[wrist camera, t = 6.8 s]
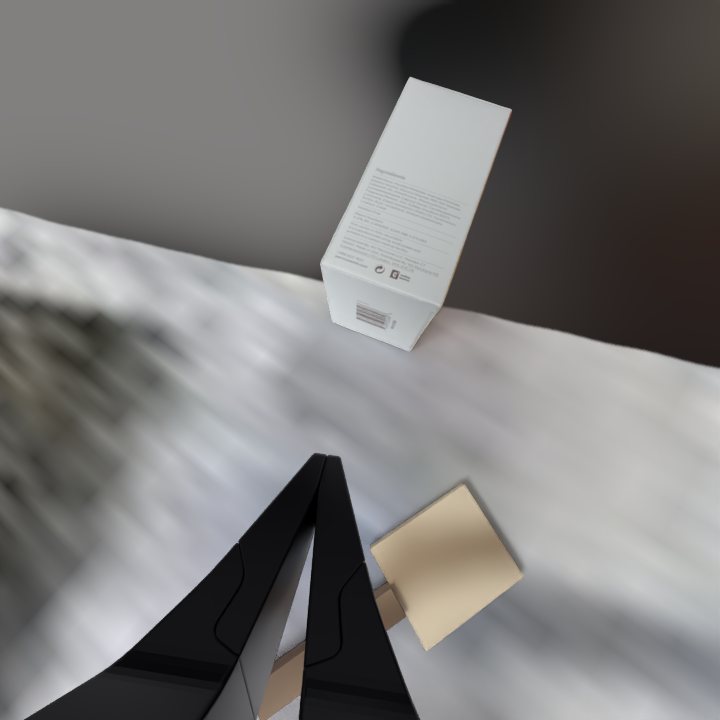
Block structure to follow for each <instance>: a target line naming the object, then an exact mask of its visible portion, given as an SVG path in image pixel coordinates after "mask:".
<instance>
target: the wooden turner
mask: <svg viewBox="0 0 720 720" xmlns="http://www.w3.org/2000/svg"><path fill="white" fill-rule="evenodd" d="M370 550H371V551H372V553H373V555H374V557H375V559H376V561H377V562H378V564H379V566H380V568H381V570H382V572H383V573H384V575H385V577H386V579H387V582H386V583H385V584H383V585H382V586H380V587H379V588H378V589H376V590H375V591H373V592H374V596H375V599H376V602H377V605H378V608H379V611H380V614H381V617H382V620H383V623H384V626H385V629H386V631H387V630H388V629H390V628H391V627H392V626H394V625H395V624H397V623H398V622H399V621H401V620H402V619H403V618H405V617H406V615H407V617H408V619H409V621H410V623H411V624H412V626H413V628H414V630H415V632H416V634H417V635H418V637H419V639H420V641H421V643H422V645H423V646H424V648H425V650H426V652H427V651H428V650H429V649H430V648H432V647H433V646H434V645H436V644H437V643H438V642H440V641H441V640H442V639H443V638H445V637H446V636H447V635H449V634H450V633H451V632H453V631H454V630H455V629H457V628H458V627H459V626H460V625H462V624H463V623H464V622H466V621H467V620H468V619H470V618H471V617H472V616H473V615H475V614H476V613H477V612H479V611H480V610H481V609H483V608H484V607H485V606H486V605H488V604H489V603H490V602H492V601H493V600H494V599H496V598H497V597H498V596H499V595H501V594H502V593H503V592H505V591H506V590H507V589H509V588H510V587H511V586H512V585H514V584H515V583H516V582H518V581H519V580H520V579H522V578H523V577H524V576H523V575H522V573H521V572H520V570H519V568H518V567H517V565H516V564H515V562H514V561H513V559H512V558H511V556H510V554H509V553H508V551H507V550H506V548H505V547H504V545H503V544H502V542H501V540H500V539H499V537H498V536H497V534H496V533H495V531H494V529H493V528H492V526H491V525H490V523H489V522H488V520H487V519H486V517H485V515H484V514H483V512H482V511H481V509H480V508H479V506H478V504H477V503H476V501H475V500H474V498H473V497H472V495H471V494H470V492H469V490H468V489H467V487H466V486H465V484H463V483H461V484H460V485H458V486H457V487H455V488H454V489H452V490H451V491H449V492H448V493H447V494H445V495H444V496H442V497H441V498H439V499H438V500H436V501H435V502H433V503H432V504H430V505H429V506H427V507H426V508H424V509H423V510H422V511H420V512H419V513H417V514H416V515H414V516H413V517H411V518H410V519H408V520H407V521H405V522H404V523H402V524H401V525H399V526H398V527H397V528H395V529H394V530H392V531H391V532H389V533H388V534H386V535H385V536H383V537H382V538H380V539H379V540H377V541H376V542H374V543H373V544H372V545H370ZM305 641H306V640H305ZM305 641H303V642H302V643H300V644H299V645H298V646H296V647H295V648H293V649H292V650H291V651H289V652H288V653H286V654H285V655H284V656H282V657H281V658H279V659H278V660H277V661H275V662H274V664H273V667H272V670H271V674H270V677H269V680H268V683H267V686H266V690H265V693H264V696H263V699H262V702H261V706H260V709H259V712H258V717H259V719H260V720H267V719H268V718H269V717H271V716H272V715H274V714H275V713H276V712H278V711H279V710H280V709H282V708H283V707H284V706H286V705H287V704H288V703H290V702H291V701H292V700H294V699H295V698H296V697H298V696H299V695H301V688H302V676H303V665H304V653H305Z"/></svg>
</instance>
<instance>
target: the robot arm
mask: <svg viewBox="0 0 720 720" xmlns="http://www.w3.org/2000/svg"><path fill="white" fill-rule="evenodd" d="M314 531H315V534H314ZM313 535H314V546H313V558H312V570H311V581H310V593H309V605H308V617H307V629H306V641H305V653H304V665H303V676H302V688H301V699H300V710H299V720H420V718H419V715H418V713H417V711H416V709H415V706H414V704H413V702H412V699H411V697H410V694H409V692H408V689H407V686H406V684H405V681H404V678H403V676H402V673H401V670H400V667H399V665H398V662H397V659H396V656H395V654H394V651H393V648H392V645H391V643H390V640H389V637H388V634H387V632H386V629H385V626H384V623H383V620H382V617H381V614H380V611H379V608H378V605H377V602H376V599H375V596H374V592H373V588H372V585H371V581H370V577H369V573H368V569H367V565H366V563H365V557H364V553H363V549H362V545H361V540H360V536H359V532H358V528H357V524H356V519H355V515H354V511H353V507H352V503H351V499H350V494H349V490H348V486H347V482H346V478H345V474H344V469H343V465H342V461H341V458H340V457H339V456H334V455H328V456H327V455H326V454H320V453H314V454H313V455H312V456H311V457H310V458H309V460H308V461H307V462H306V463H305V464H304V465H303V466H302V468H301V469H300V470H299V471H298V472H297V473H296V475H295V476H294V477H293V478H292V479H291V480H290V482H289V483H288V484H287V485H286V486H285V487H284V488H283V490H282V491H281V492H280V493H279V494H278V495H277V497H276V498H275V499H274V500H273V501H272V502H271V504H270V505H269V506H268V507H267V508H266V509H265V510H264V512H263V513H262V514H261V515H260V516H259V517H258V519H257V520H256V521H255V522H254V523H253V524H252V526H251V527H250V528H249V529H248V530H247V531H246V532H245V534H244V535H243V536H242V537H241V538H240V539H239V541H238V542H239V543H236V544H235V545H234V546H233V547H232V548H231V550H230V551H229V552H228V553H227V554H226V555H225V557H224V558H223V559H222V560H221V561H220V562H219V563H218V564H217V565H216V566H215V568H214V569H213V570H212V571H211V572H210V573H209V574H208V575H207V576H206V577H205V578H204V579H203V580H202V581H201V582H200V583H199V584H198V585H197V586H196V587H195V588H194V589H193V590H192V591H191V592H190V593H189V594H188V595H187V596H186V597H185V598H184V599H183V600H182V601H181V602H180V603H179V604H178V605H177V606H175V607H174V608H173V609H172V610H171V611H170V612H169V613H168V614H167V615H166V616H165V617H164V618H163V619H162V620H161V621H160V622H159V623H158V624H157V625H156V626H155V627H154V628H153V629H152V630H150V631H149V632H148V633H147V634H146V635H145V636H144V637H143V638H142V639H141V640H140V641H139V642H138V643H137V644H136V645H135V646H134V647H133V648H131V649H130V650H129V651H128V652H127V653H126V654H125V655H123V656H122V657H121V658H120V659H118V660H117V661H116V662H115V663H113V664H112V665H111V666H109V667H108V668H106V669H105V670H104V671H102V672H101V673H99V674H98V675H96V676H95V677H93V678H91V679H90V680H88V681H86V682H85V683H83V684H82V685H80V686H78V687H77V688H75V689H73V690H72V691H70V692H68V693H67V694H65V695H64V696H62V697H60V698H59V699H57V700H55V701H54V702H52V703H50V704H49V705H47V706H46V707H44V708H42V709H41V710H39V711H37V712H36V713H34V714H33V715H31V716H29V717H28V718H26V719H24V720H256V719H257V715H258V712H259V709H260V706H261V702H262V699H263V696H264V693H265V690H266V686H267V683H268V680H269V677H270V674H271V670H272V667H273V664H274V661H275V657H276V654H277V651H278V648H279V645H280V641H281V638H282V635H283V632H284V628H285V625H286V622H287V619H288V616H289V612H290V609H291V606H292V603H293V599H294V596H295V593H296V590H297V587H298V583H299V580H300V577H301V574H302V571H303V567H304V564H305V561H306V558H307V554H308V551H309V548H310V545H311V542H312V538H313Z"/></svg>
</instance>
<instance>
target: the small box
mask: <svg viewBox="0 0 720 720" xmlns="http://www.w3.org/2000/svg"><path fill="white" fill-rule="evenodd" d="M511 113H512V110H511V109H508V108H505V107H501V106H499V105H496V104H493V103H490V102H487V101H483V100H480V99H477V98H474V97H471V96H468V95H465V94H462V93H459V92H455V91H453V90H450V89H446V88H443V87H440V86H437V85H434V84H430V83H427V82H423V81H420V80H417V79H414V78H412V77H410V78H409V79H408V82H407V83H406V85H405V88H404V90H403V92H402V94H401V96H400V98H399V100H398V102H397V104H396V106H395V108H394V111H393V113H392V115H391V117H390V119H389V121H388V123H387V125H386V127H385V129H384V131H383V134H382V135H381V138H380V140H379V142H378V144H377V146H376V148H375V150H374V153H373V155H372V157H371V159H370V161H369V164H368V166H367V168H366V170H365V172H364V174H363V176H362V178H361V180H360V183H359V185H358V187H357V189H356V191H355V193H354V195H353V198H352V199H351V201H350V203H349V205H348V208H347V210H346V211H345V213H344V215H343V217H342V219H341V221H340V223H339V225H338V228H337V230H336V232H335V234H334V236H333V238H332V240H331V242H330V244H329V246H328V248H327V251H326V253H325V255H324V257H323V258H322V260H321V263H320V265H321V270H322V275H323V280H324V285H325V290H326V295H327V300H328V304H329V309H330V314H331V319H332V321H333V322H334V323H336V324H339V325H341V326H344V327H346V328H348V329H351V330H354V331H356V332H359V333H362V334H364V335H367V336H370V337H372V338H375V339H378V340H380V341H383V342H385V343H388V344H390V345H393V346H396V347H398V348H401V349H403V350H406V351H408V352H409V351H411V350H412V349H413V347H414V345H415V344H416V342H417V341H418V339H419V338H420V336H421V335H422V333H423V332H424V330H425V329H426V327H427V326H428V324H429V323H430V322H431V320H432V319H433V318H434V316H435V315H436V314H437V313H438V312H439V311H440V309H441V308H442V306H443V303H444V301H445V298H446V296H447V293H448V290H449V287H450V284H451V281H452V279H453V276H454V273H455V270H456V268H457V265H458V262H459V259H460V256H461V253H462V250H463V247H464V244H465V241H466V238H467V235H468V232H469V229H470V227H471V224H472V221H473V219H474V216H475V213H476V210H477V208H478V205H479V202H480V199H481V197H482V194H483V191H484V188H485V186H486V183H487V180H488V177H489V174H490V172H491V169H492V166H493V163H494V160H495V157H496V155H497V152H498V149H499V146H500V143H501V141H502V138H503V135H504V132H505V130H506V127H507V124H508V122H509V119H510V116H511Z"/></svg>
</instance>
